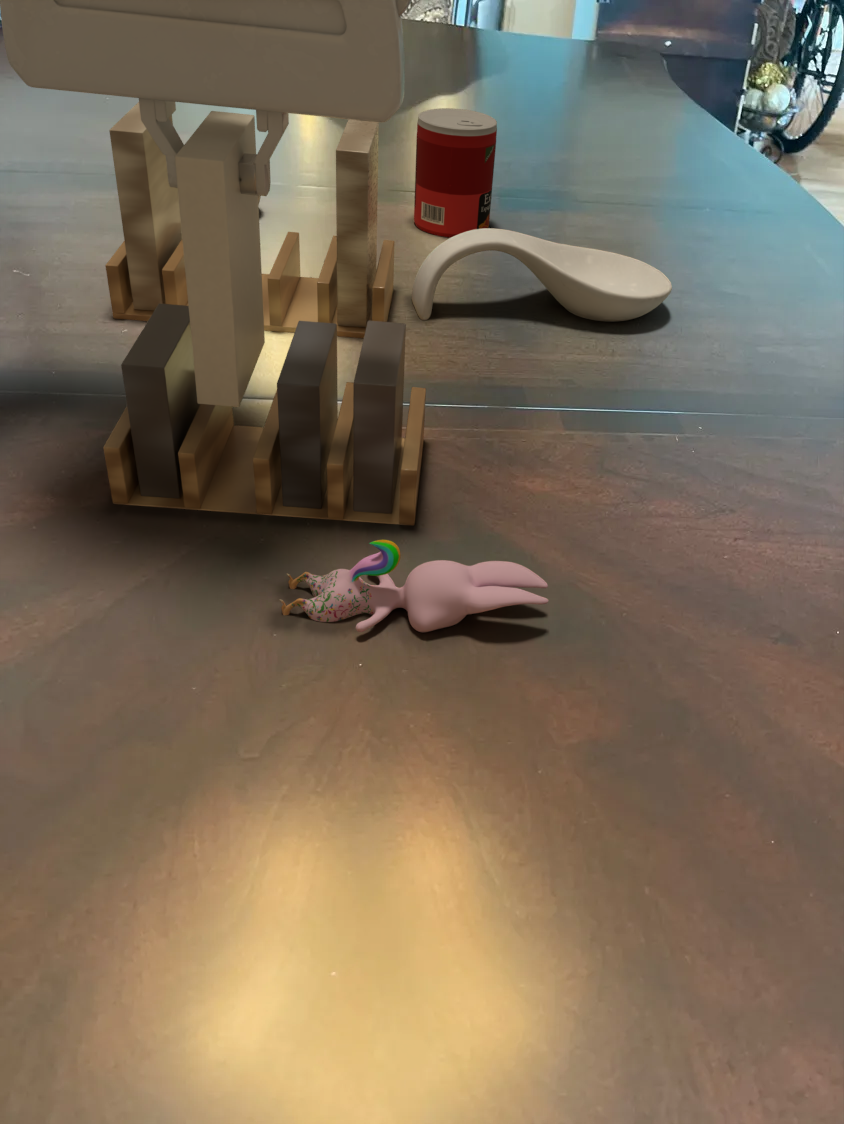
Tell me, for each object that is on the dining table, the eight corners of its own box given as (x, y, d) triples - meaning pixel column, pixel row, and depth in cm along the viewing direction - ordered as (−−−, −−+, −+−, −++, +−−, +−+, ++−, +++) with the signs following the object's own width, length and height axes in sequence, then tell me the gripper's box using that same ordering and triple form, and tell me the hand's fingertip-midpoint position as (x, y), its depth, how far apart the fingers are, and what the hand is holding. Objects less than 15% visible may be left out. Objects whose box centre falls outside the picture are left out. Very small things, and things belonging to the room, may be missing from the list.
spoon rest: (639, 285, 104) (652, 211, 99) (684, 336, 95) (701, 257, 90) (402, 290, 98) (405, 211, 93) (428, 344, 89) (432, 261, 85)
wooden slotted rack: (114, 324, 88) (84, 131, 78) (147, 274, 96) (124, 95, 86) (383, 345, 89) (387, 157, 79) (393, 294, 97) (397, 119, 87)
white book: (197, 404, 63) (174, 156, 54) (226, 339, 70) (210, 110, 60) (239, 407, 63) (223, 161, 54) (264, 343, 70) (254, 114, 61)
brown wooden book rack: (114, 516, 67) (89, 370, 60) (157, 431, 75) (139, 295, 69) (413, 537, 67) (420, 395, 61) (422, 451, 76) (429, 318, 69)
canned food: (494, 244, 109) (504, 130, 102) (417, 242, 108) (422, 127, 101) (482, 218, 115) (490, 109, 108) (409, 216, 114) (413, 106, 107)
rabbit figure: (284, 665, 59) (551, 651, 58) (261, 580, 55) (546, 564, 54) (301, 597, 64) (547, 584, 63) (281, 515, 60) (543, 499, 59)
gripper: (421, -95, 53) (408, 189, 62) (8, -141, 52) (56, 154, 61) (413, -80, 48) (401, 226, 57) (-41, -130, 47) (18, 189, 56)
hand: (220, 189), depth 59 cm, fingers closed on white book, 2 cm apart
